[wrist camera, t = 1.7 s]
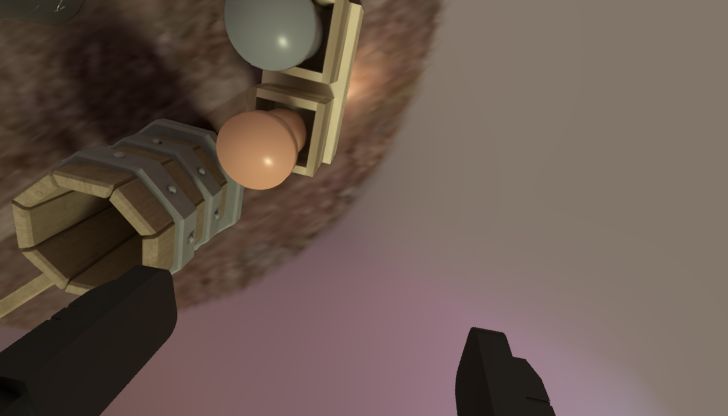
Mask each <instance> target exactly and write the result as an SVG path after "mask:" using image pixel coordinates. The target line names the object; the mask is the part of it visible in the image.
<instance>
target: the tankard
mask: <svg viewBox="0 0 728 416" xmlns="http://www.w3.org/2000/svg"><path fill="white" fill-rule="evenodd" d="M217 137H218V136H217V135H216V133H215V132H213V131H209V130H206V129H202V128H198V127H195V126H191V125H187V124H183V123H180V122H176V121H172V120H168V119H165V118H161V119H157V120H154V121H153V122H152V123H150V124H149V125H147V126H146V127H144V128H143V129H142V130H140V131H139V132H137V133H136V134H134V135H131V136H128V137H124V138H122V139H121V140H119V141H118V142H117V143H115V144H114V145H109V146H108V147H103V146H99V145H97V146H94V147H91V148H87V149H84V150H80V151H77V152H75V153H74V154H73V155H71V156H70V157H68V158H67V159H63V160H62V161H61V163H60V164H59V165H57V166H56V167H55V168H53V169H52V170H50V171H48V172H47V173H45V174H44V175H42V176H41V177H40V178H38V179H37V180H36V181H34V182H33V183H31V184H30V185H29V186H27V187H26V188H25V189H23V190H22V191H20V192H19V193H18V194H16V195H15V196H14V197H13V200H12V207H13V213H14V220H15V226H16V232H17V239H18V245H19V248H25V249H24V250H23V251H22V253H23V254H24V255H25V256H26V257H27V258H28V259H29V260H30V261H31V262H32V263H33V264H34V265H35V266H36V267H38V268H39V269H40V270H41V272H40V273H38V274H37V275H35V276H33V277H32V278H30V279H29V280H27V281H25V282H24V283H22V284H21V285H19V286H17V287H16V288H14V289H13V290H11V291H10V292H8V293H6V294H5V295H3V296H2V297H0V318H1V317H3V316H4V315H6V314H7V313H9V312H11V311H12V310H14V309H15V308H17V307H18V306H20V305H22V304H23V303H25V302H26V301H28V300H29V299H31V298H33V297H34V296H36V295H37V294H39V293H40V292H42V291H44V290H45V289H47V288H49V287H50V286H52V285H54V284H56V285H57V286H58V287H59V288H60V289H63V288H64V287H66V286H67V287H66V290H65V291H66V292H70V293H74V294H78V295H83V294H84V293H86V292H87V291H89V290H91V289H93V288H95V287H98V286H100V285H102V284H105V283H107V282H109V281H112V280H116V279H117V278H119V277H120V276H121V275H123V274H124V273H125V272H127V271H128V270H130V269H131V268H132V267H134V266H136V265H145V266H151V267H156V268H161V269H167V270H169V271H170V272H171V274H173V273H175V272H177V271H179V270H181V269H182V268H183V267H184V266H185V265H186V264H187V263H188V262H189V261H190V260H191V259H192V258H193V257H194V250H197V249H198V248H199V246H200V245H202V244H204V243H206V242H208V241H209V240H210V239H211V238H212V237H213V236H214V235H215V234H217V233H219V232H220V231H222V230H224V229H226V228H228V227H229V226H231V225H233V224H235V223H236V222H237V221H238V220H239V219H240V215H241V208H242V200H243V192H244V186H242V185H241V184H239V183H237V182H236V181H234V180H233V179H232V178H231V177H230V176H229V175H228V174H227V173H226V172H225V170H224V169H223V167H222V166H221V164H220V161H219V159H218V155H217V150H216V142H217Z"/></svg>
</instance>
